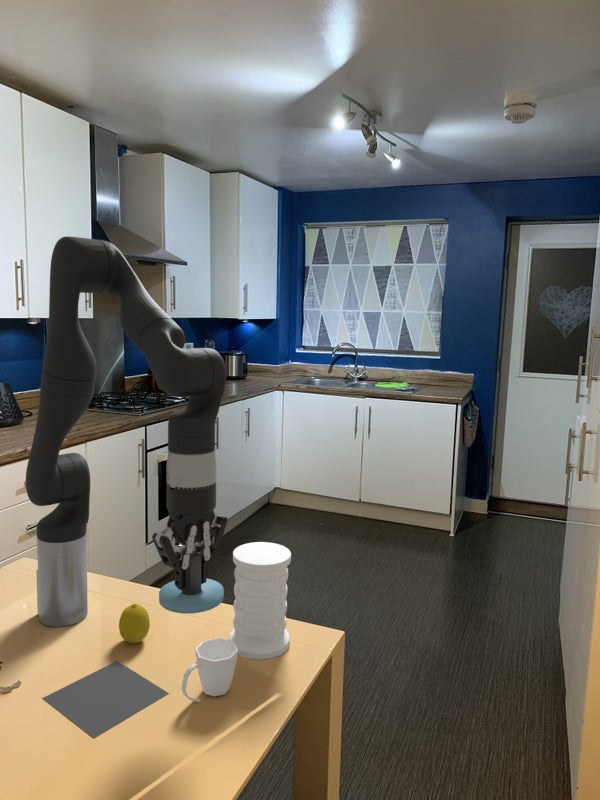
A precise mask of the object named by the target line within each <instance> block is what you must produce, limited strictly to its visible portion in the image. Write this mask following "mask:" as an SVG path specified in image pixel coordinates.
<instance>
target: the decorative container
mask: <svg viewBox="0 0 600 800" xmlns="http://www.w3.org/2000/svg"><path fill="white" fill-rule="evenodd" d="M232 562H233V563H234V565H235V568H234V572H233V575H234V580H235V584H234V587H233V593H234V601H233V610H234V616H233V618H232V624H233V629H232V630H230V633H229V635H228V636H229V637H228V640H229V641H233V642H234V644H235V645H236V647H237V649H238V654H237V656H238V657H239V656H240V657H241V658H245V659H247V660H248V659H249V660H255V661H256V660H257V661H259V660H260V661H261V660H269V659H274V658H278V657H279V656H281V655H282V654H283V655H284V653H286V651H288V649H289V648H290V643H291V642H290V641H291V635H290V633H289V632H288V630H287V629H286V626H287V624H288V623H287V622H288V621H287V617H286V613H287V611H288V602H287V595H288V590H289V589H288V584H287V581H288V579H289V568H288V566H289V565H290V564H291V562H292V552H291V551H290V549H289V548H288V547H286V546H284V545H283V544H279V543H275V542H267V541H256V542H248V543H244V544H241V545H238V546H237V547H236V548H234V550H233V551H232Z"/></svg>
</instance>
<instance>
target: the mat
mask: <svg viewBox="0 0 600 800" xmlns="http://www.w3.org/2000/svg"><path fill="white" fill-rule="evenodd" d="M169 694H170V692H169V691H166V690H164V689H163V688H161V686H158V685H157V684H155V683H153V682H152V681H150V680H149V679H147V678H145V677H144V676H142V675H141V674H139V673H137V672H136V671H134V670H132V669H131V668H129V667H128V666H126V665H125V664H123V663H121V662H120V661H118V660H116V661H114V662H112V663H109V664H108V665H105V666H104V667H101V668H100V669H97V670H95V671H94V672H92V673H89V674H88V675H86V676H84V677H82V678H80V679H78V680H75V681H74V682H72V683H69V684H68V685H66V686H63V687H62V688H59V689H57V690H56V691H53V692H52V693H50V694H48V695H46V696H43V697H42V698H41V699H42V700H43V701H45V702H46V703H47V704H48V705H50V706H51V707H52V708H54V709H55V710H56V711H58V712H59V714H61V715H63V716H64V717H65V718H67V719H68V720H69V721H70V722H71V723H73V724H74V725H76V726H77V727H78V728H79V729H81V731H83V732H84V733H86V734H87V735H88V736H90V737H91V738H92V739H96V738H98V737H99V736H100V735H102V734H104V733H105V732H107V731H109V730H111V729H112V728H114V727H116V726H118V725H119V724H120V723H122V722H124V721H127V719H129V718H130V717H133V716H134V715H136V714H137V713H139V712H141V711H142V710H144V709H146V708H147V707H149V706H150V705H153V704H154V703H156V702H158V701H159V700H161V699H163V698H164V697H166V696H168V695H169Z"/></svg>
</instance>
